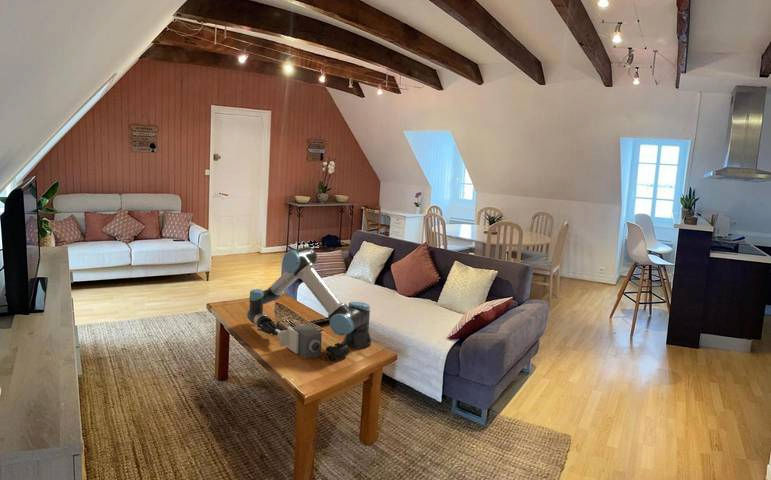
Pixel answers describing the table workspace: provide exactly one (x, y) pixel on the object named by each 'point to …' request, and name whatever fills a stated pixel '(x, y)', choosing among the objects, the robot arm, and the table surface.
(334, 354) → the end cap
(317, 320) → the table surface
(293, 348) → the side door
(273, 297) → the robot arm
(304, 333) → the camera housing
